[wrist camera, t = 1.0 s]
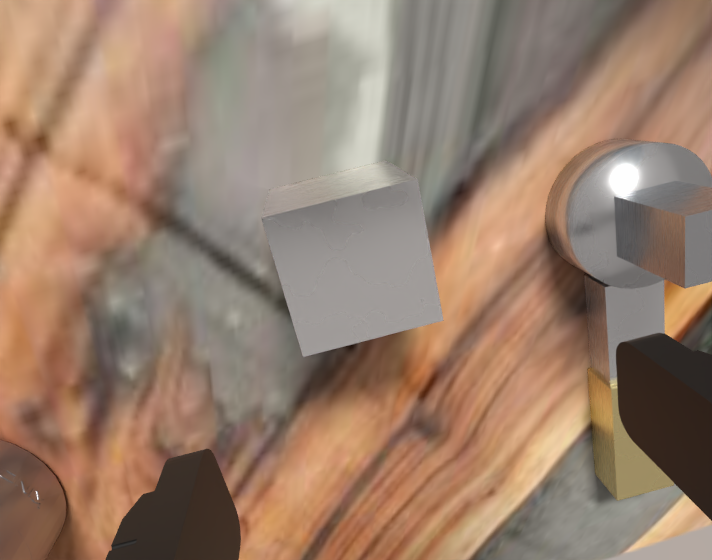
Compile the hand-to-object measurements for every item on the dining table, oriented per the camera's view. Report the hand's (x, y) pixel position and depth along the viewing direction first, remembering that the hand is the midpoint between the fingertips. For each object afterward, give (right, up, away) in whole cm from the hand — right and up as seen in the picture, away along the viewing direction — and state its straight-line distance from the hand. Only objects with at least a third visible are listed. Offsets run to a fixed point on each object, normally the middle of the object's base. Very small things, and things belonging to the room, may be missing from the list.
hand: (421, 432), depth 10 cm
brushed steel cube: (-2, +5, +16) cm, 17 cm away
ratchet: (+14, 0, +19) cm, 24 cm away
